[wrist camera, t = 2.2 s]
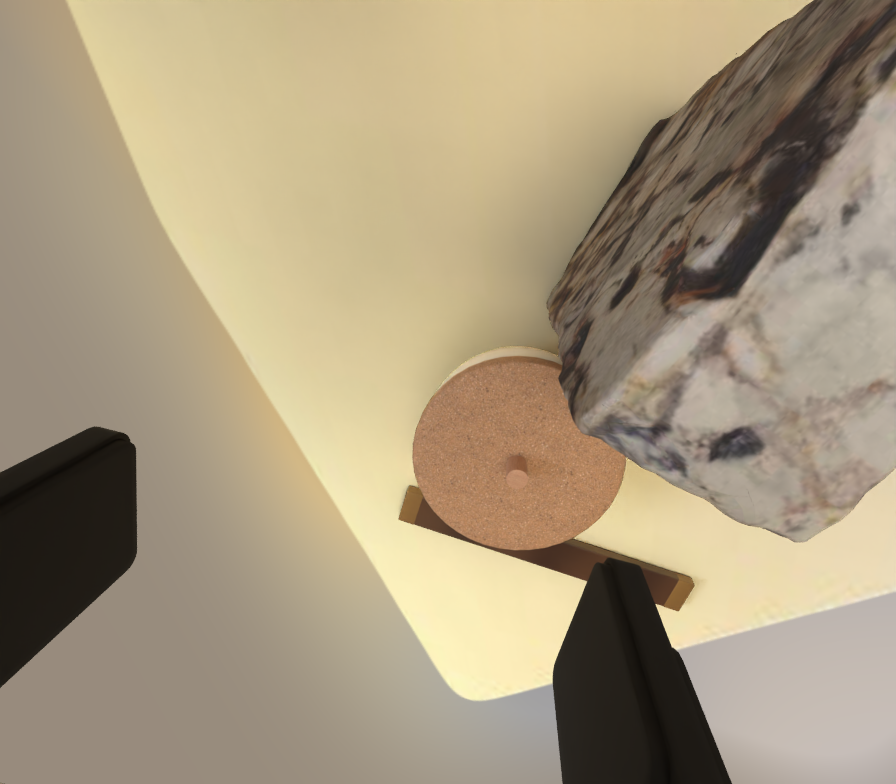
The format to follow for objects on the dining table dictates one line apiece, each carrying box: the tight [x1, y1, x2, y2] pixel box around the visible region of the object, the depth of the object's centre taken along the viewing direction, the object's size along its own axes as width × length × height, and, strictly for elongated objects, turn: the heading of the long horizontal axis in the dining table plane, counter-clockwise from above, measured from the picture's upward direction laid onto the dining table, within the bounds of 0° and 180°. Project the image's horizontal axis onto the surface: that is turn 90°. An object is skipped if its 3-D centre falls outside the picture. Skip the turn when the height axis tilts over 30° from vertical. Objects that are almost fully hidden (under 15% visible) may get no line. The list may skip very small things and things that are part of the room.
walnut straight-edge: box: [399, 486, 694, 611], centre depth 35 cm, size 21×2×1 cm, turn 73°
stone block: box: [547, 0, 896, 542], centre depth 18 cm, size 13×7×20 cm, turn 156°
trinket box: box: [413, 346, 626, 550], centre depth 28 cm, size 11×11×9 cm
